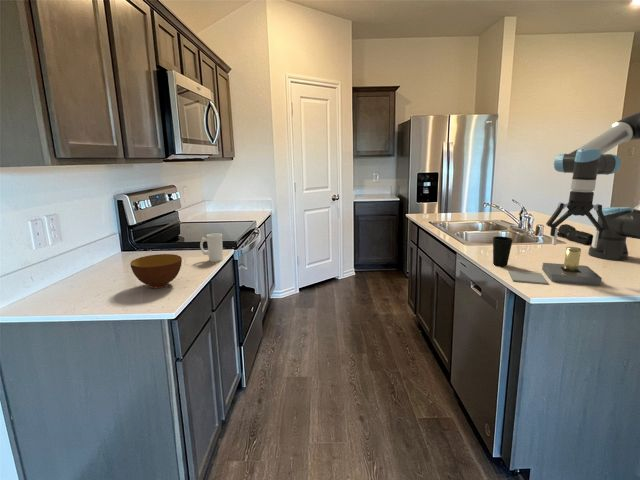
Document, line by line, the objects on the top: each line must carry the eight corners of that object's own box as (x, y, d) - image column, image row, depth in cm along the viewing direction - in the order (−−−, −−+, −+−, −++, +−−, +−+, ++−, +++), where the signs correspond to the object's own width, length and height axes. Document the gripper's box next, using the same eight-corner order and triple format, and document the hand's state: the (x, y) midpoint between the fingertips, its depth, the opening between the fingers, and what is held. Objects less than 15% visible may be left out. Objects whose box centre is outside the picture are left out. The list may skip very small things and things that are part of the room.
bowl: (122, 290, 141) (119, 264, 139) (158, 276, 157) (155, 252, 155) (160, 296, 135) (157, 269, 133) (193, 281, 151) (191, 256, 149)
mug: (224, 257, 184) (222, 233, 181) (222, 261, 177) (221, 236, 174) (202, 258, 182) (200, 233, 180) (200, 262, 176) (198, 237, 173)
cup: (487, 262, 173) (489, 236, 170) (503, 262, 173) (506, 236, 171) (496, 267, 165) (499, 240, 162) (513, 267, 166) (516, 240, 163)
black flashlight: (586, 247, 201) (589, 232, 199) (551, 235, 225) (553, 222, 223) (597, 247, 202) (600, 231, 200) (561, 235, 226) (564, 221, 224)
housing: (586, 272, 158) (587, 265, 157) (600, 285, 143) (601, 278, 142) (542, 269, 163) (542, 262, 162) (551, 281, 148) (552, 274, 147)
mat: (541, 274, 156) (541, 273, 156) (548, 284, 145) (548, 283, 145) (508, 272, 159) (508, 270, 159) (513, 281, 148) (513, 280, 148)
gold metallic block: (574, 275, 154) (578, 247, 152) (578, 279, 150) (582, 250, 147) (560, 274, 156) (564, 246, 153) (564, 278, 151) (568, 249, 149)
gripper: (617, 191, 145) (607, 246, 150) (542, 188, 152) (535, 241, 157) (625, 193, 138) (615, 250, 143) (547, 190, 145) (539, 245, 150)
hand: (573, 245), depth 150 cm, fingers open, 13 cm apart
